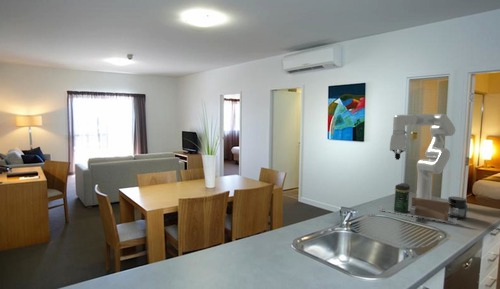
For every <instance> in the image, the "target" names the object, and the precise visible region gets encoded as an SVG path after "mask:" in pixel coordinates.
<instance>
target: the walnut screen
mask: <svg viewBox="0 0 500 289" xmlns="http://www.w3.org/2000/svg"><path fill="white" fill-rule="evenodd" d="M409 214H410V215H418V216H423V217H429V218H434V219H440V220H445V221H449V216H448V215H449V202H448V201H444V200H436V199H435V200H434V199H432V200H430V199H423V198H417V196H412V197H411V208H409Z"/></svg>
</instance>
